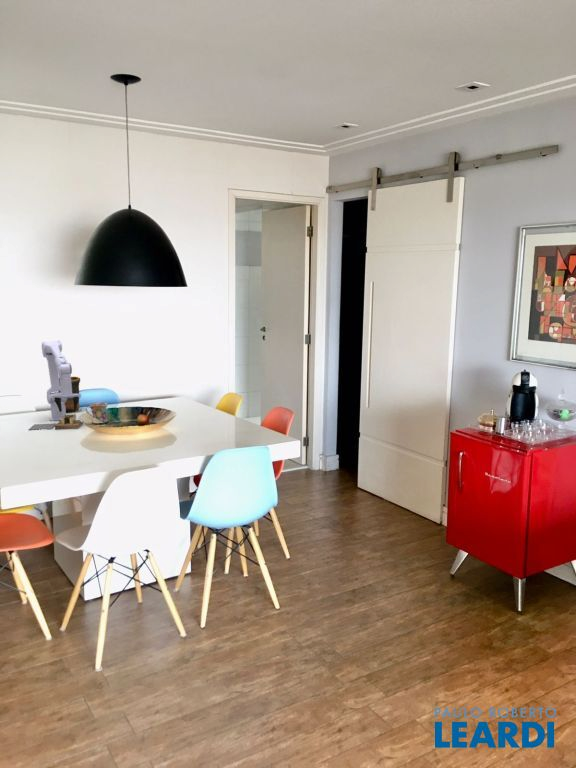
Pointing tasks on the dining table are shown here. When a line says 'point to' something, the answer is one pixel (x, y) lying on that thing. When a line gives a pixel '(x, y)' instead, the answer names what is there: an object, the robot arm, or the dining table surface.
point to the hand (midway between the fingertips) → (68, 411)
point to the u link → (72, 419)
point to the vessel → (69, 403)
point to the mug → (98, 411)
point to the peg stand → (68, 424)
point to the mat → (42, 426)
